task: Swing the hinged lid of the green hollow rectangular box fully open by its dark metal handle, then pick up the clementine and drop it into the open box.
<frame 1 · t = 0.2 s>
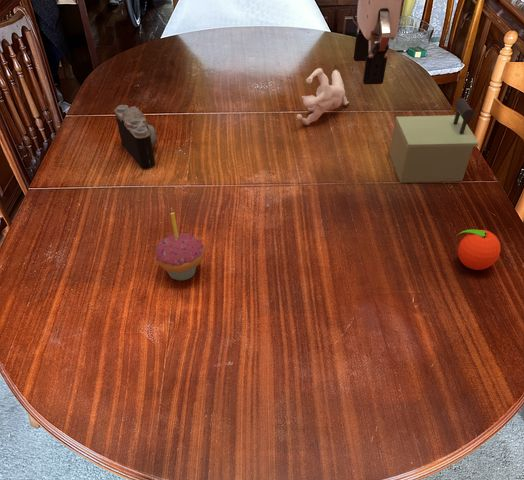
hand: (367, 71, 85), 26 cm above the table, tool pointing down, fingers open, 9 cm apart
pale pink plastic figure: (322, 117, 131), on the table
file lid: (438, 118, 106), point 11 cm above the table, hinge at 0.0°
clementine: (469, 265, 92), on the table
green hollow rectangular box: (424, 166, 114), on the table
cupcake: (183, 273, 91), on the table
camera: (144, 154, 119), on the table
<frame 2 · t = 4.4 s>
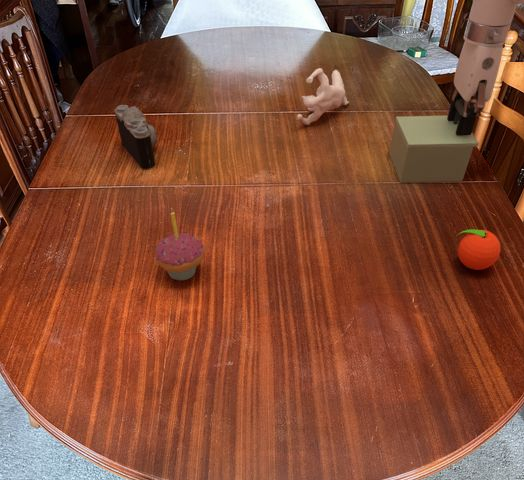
hand: (458, 126, 107), 9 cm above the table, tool pointing down, fingers closed on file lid, 5 cm apart
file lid: (438, 118, 106), point 11 cm above the table, hinge at 0.0°, touching gripper
everything else where it was.
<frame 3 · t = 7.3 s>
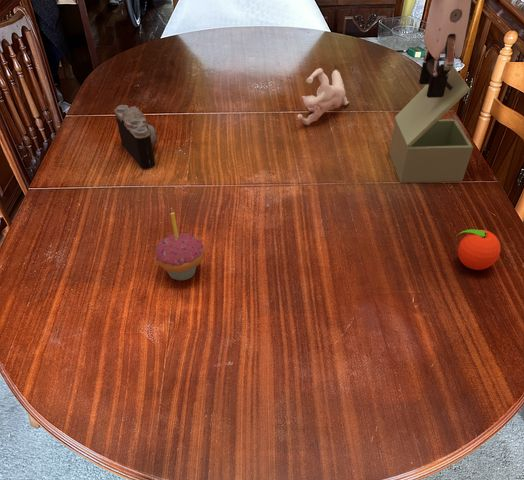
hand: (430, 89, 101), 17 cm above the table, tool pointing down, fingers closed on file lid, 5 cm apart
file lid: (421, 96, 102), point 16 cm above the table, hinge at 50.9°, touching gripper
everything else where it was.
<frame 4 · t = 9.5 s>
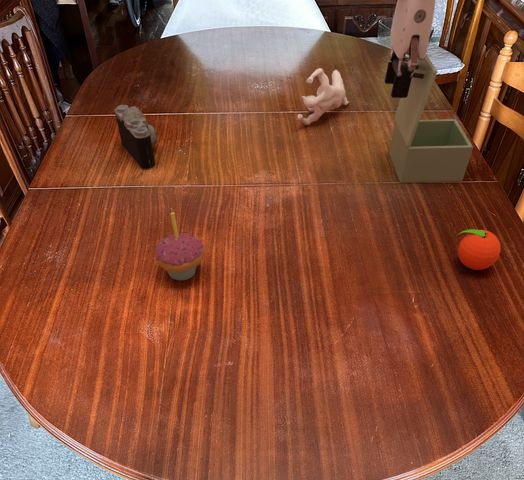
hand: (395, 89, 101), 17 cm above the table, tool pointing down, fingers closed on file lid, 5 cm apart
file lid: (401, 95, 102), point 16 cm above the table, hinge at 82.1°, touching gripper
everything else where it was.
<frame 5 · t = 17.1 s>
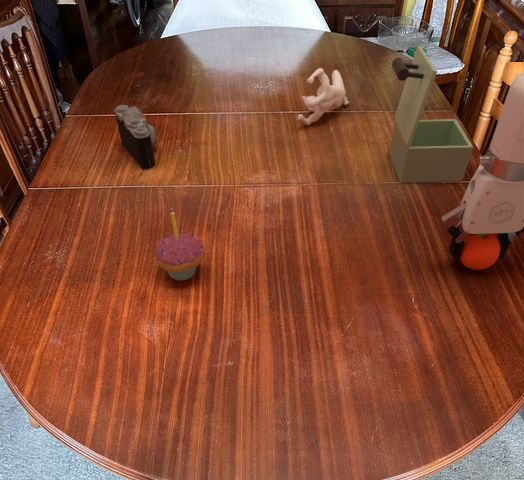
hand: (475, 254, 90), 2 cm above the table, tool pointing down, fingers closed on clementine, 7 cm apart
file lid: (401, 95, 102), point 16 cm above the table, hinge at 82.3°
clementine: (469, 265, 92), on the table, touching gripper
everything else where it was.
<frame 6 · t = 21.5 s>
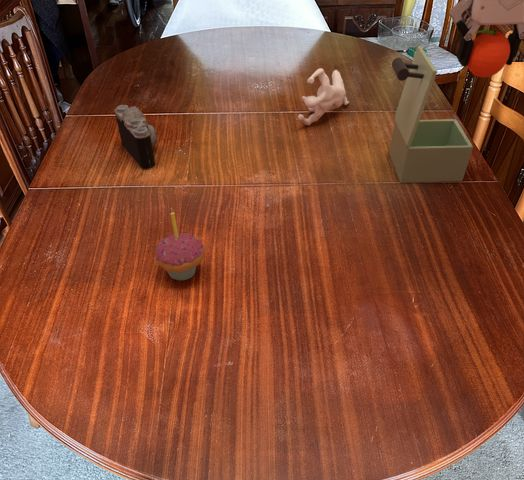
hand: (484, 62, 88), 26 cm above the table, tool pointing down, fingers closed on clementine, 7 cm apart
clementine: (477, 76, 90), point 23 cm above the table, touching gripper
everything else where it was.
when the fingers open (15 cm above the table, at t = 25.8 s): clementine drops 9 cm, resting on green hollow rectangular box.
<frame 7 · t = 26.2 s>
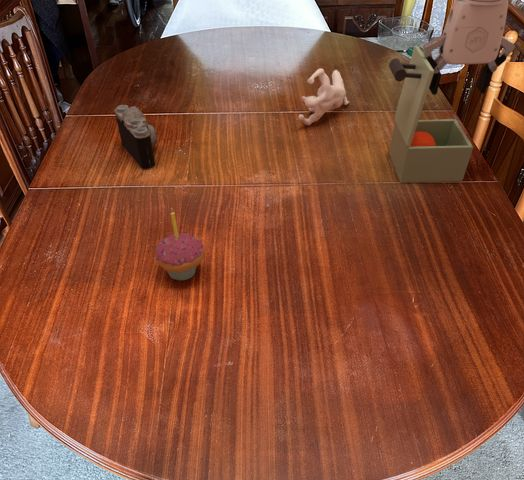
hand: (456, 91, 102), 16 cm above the table, tool pointing down, fingers open, 9 cm apart
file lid: (399, 95, 102), point 16 cm above the table, hinge at 84.6°
clementine: (433, 149, 112), point 4 cm above the table, touching green hollow rectangular box
everything else where it was.
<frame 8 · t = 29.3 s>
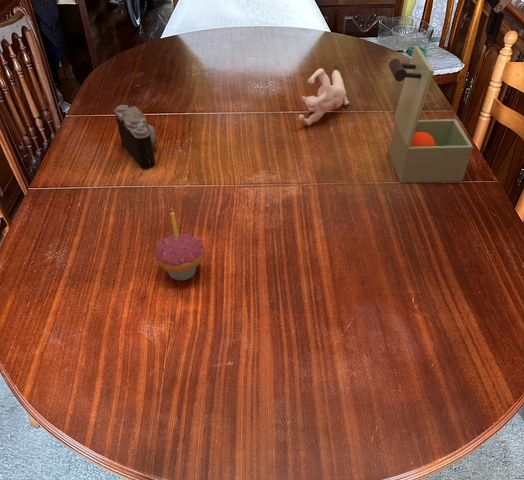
hand: (520, 38, 82), 30 cm above the table, tool pointing down, fingers open, 9 cm apart
nothing on the table moved.
at the end: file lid at +85° (first picture: +0°); clementine inside the target area in the green hollow rectangular box (1.5 cm from its centre), point 3.7 cm above the green hollow rectangular box's base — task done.
